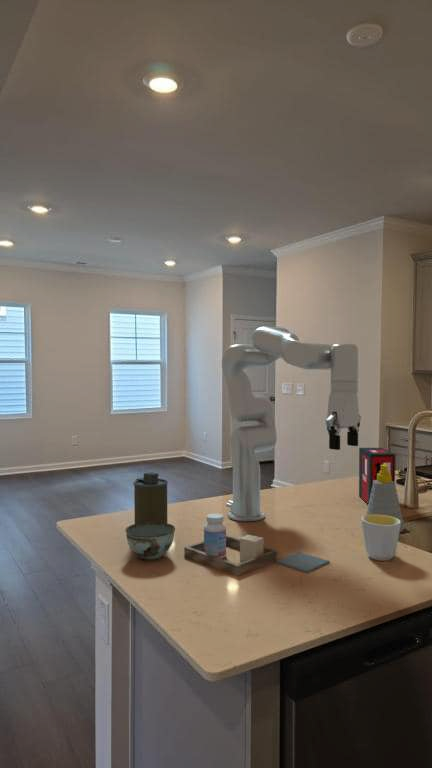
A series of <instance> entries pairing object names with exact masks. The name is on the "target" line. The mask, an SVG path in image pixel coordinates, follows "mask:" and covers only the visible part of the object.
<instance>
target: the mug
mask: <svg viewBox="0 0 432 768" xmlns="http://www.w3.org/2000/svg"><path fill="white" fill-rule="evenodd" d="M361 525H362V532H363V533H362V534H363V539H364V540H363V541H364V547H365V552H366V554H367V555H368V556H369V558H370V559H373V560H375V561H380V562H381V561H382V562H385V561H387V562H388V561H390V560H391V559H392V558H394V557H395V556H396V554H397V547H398V541H399V537H400V532H399V531H400V525H401V521H400V520H399V519H397V518H395V517H391V516H386V515H367V514H366V515H363V516H362V517H361Z"/></svg>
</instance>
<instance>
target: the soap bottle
mask: <svg viewBox="0 0 432 768" xmlns="http://www.w3.org/2000/svg"><path fill="white" fill-rule="evenodd" d="M380 466H381V471H379V473H378V474H377V480H375V481H374V482H373V487H372V490H371V494H370V499H369V504H368V505H367V510H366V515H386V516H391V517H395V518H397V519H399V520H400V521H401V525H400V531H399V533H401V532H403V531H404V530H405V525H404V520H403V516H402V511H401V506H400V501H399V495H398V491H397V490H398V489H397V487H396V486H397V485H396V483H394V482H393V481H391V474H389V472H388V465H386V463H384V464H383V465H380Z"/></svg>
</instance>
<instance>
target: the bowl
mask: <svg viewBox="0 0 432 768" xmlns="http://www.w3.org/2000/svg"><path fill="white" fill-rule="evenodd" d="M124 530H125V533H126V540H127V545H128V546H129V548H130V550H131V551H132V552H133V553H134V554H135V555H137V556H138V558H139V559H140V560H141V561H144V562H153V561H154V562H155V561H158V560H160V559H161V558H162V557H163V555H164V554H165V553H167V552H168V550H170V548H171V547H172V544H173V542H174V537H175V531H176V526H174V524H171V523H169V522H167V523H163V522H144V523H137V524H135V523H134V524H131V525H129V526H127V527H126V528H125V529H124Z"/></svg>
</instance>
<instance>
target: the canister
mask: <svg viewBox="0 0 432 768" xmlns="http://www.w3.org/2000/svg"><path fill="white" fill-rule="evenodd" d="M159 476H160V474H159V473H156V472H154V471H150V472H145V473H143V477H141V478H140V477H139V478H136V480H135V481H134V482H133V483H132V484H133V486H134V488H133V489H134V492H133V493H134V494H133V495H134V502H133V503H134V524H137V523H144V522H163V523H168V484H169V481H168V480H167V479H163V478H159Z"/></svg>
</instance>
